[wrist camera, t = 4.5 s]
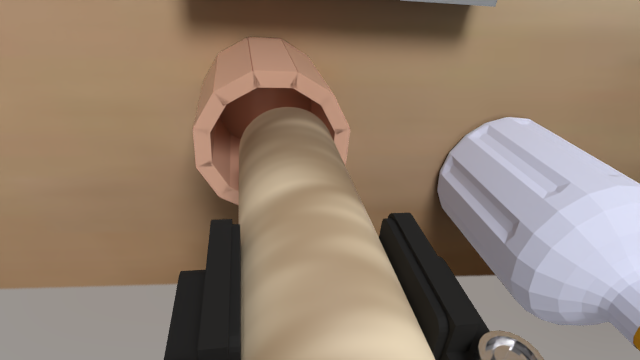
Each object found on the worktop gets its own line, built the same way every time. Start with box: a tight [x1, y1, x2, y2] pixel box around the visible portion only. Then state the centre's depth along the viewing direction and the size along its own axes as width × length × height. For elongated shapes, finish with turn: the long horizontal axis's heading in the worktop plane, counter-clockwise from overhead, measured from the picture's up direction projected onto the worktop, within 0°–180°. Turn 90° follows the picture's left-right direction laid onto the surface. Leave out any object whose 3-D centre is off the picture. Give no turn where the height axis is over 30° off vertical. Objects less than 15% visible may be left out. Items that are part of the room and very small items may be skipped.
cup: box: [193, 37, 350, 205], centre depth 21 cm, size 7×7×7 cm
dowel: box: [239, 107, 435, 360], centre depth 12 cm, size 4×4×12 cm
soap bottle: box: [437, 117, 640, 351], centre depth 20 cm, size 9×9×25 cm
